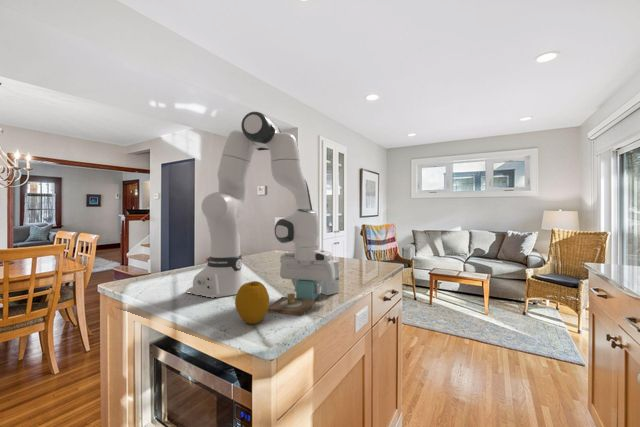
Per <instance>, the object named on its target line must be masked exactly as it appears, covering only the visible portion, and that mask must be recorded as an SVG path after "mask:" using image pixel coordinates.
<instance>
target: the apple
mask: <svg viewBox="0 0 640 427" xmlns="http://www.w3.org/2000/svg"><path fill="white" fill-rule="evenodd" d="M235 295H236V296H235V300H234V301H235V302H234V304H235V309H236V313H237V315H238V316H239V317H240V319H241V320H242V321H244V322H245V323H246V324H249V325H255V324H258V323H260V322H261V321H263V319H264V318H265V316H266V314H267V313H268V312H267V310H268V308H269V306H270V295H269V293H268V290H267V287H266V286H265V285H264V284H263V283H262V282H260V281H256V280H255V281H249V282H246V283H243V285H242V286H241V287H240V289H239V290H238V292H237V294H235Z"/></svg>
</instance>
